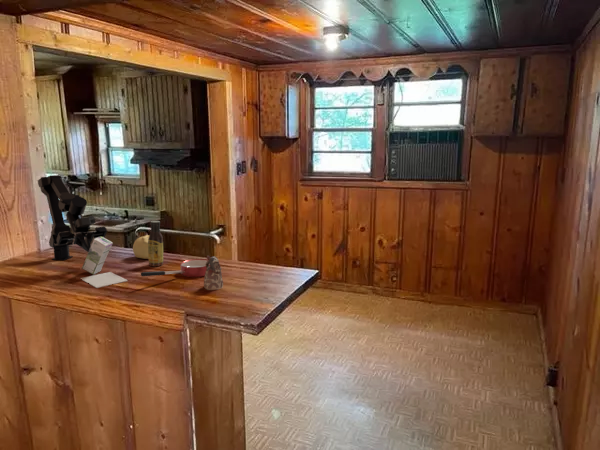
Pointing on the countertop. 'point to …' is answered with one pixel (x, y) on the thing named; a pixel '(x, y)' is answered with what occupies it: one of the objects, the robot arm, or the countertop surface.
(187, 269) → the frying pan
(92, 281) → the mat
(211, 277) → the figurine
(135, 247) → the tan rounded lump
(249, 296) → the countertop surface
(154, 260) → the sauce bottle
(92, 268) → the syrup box
